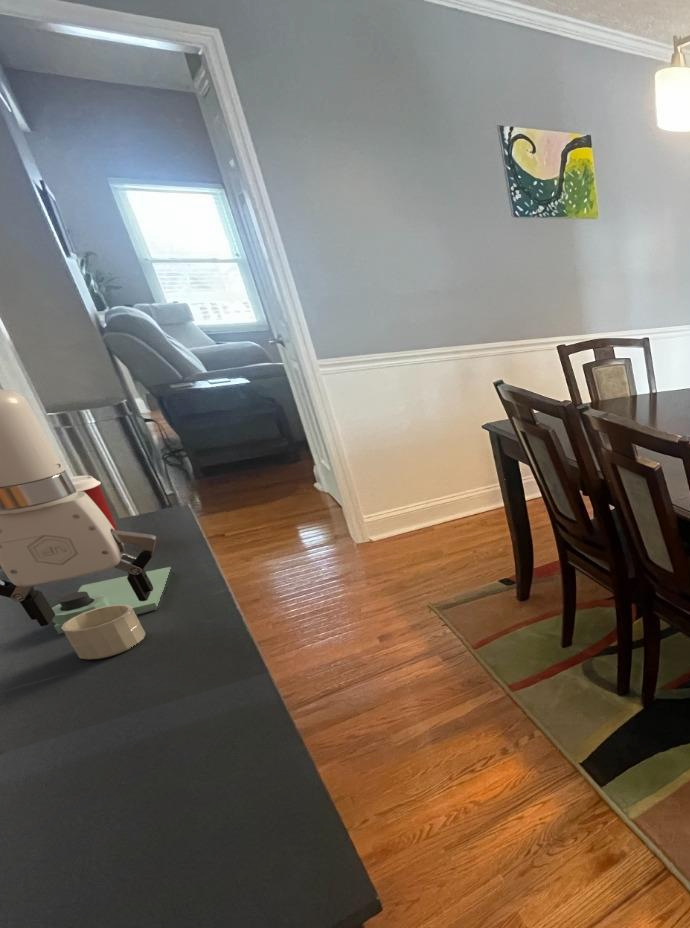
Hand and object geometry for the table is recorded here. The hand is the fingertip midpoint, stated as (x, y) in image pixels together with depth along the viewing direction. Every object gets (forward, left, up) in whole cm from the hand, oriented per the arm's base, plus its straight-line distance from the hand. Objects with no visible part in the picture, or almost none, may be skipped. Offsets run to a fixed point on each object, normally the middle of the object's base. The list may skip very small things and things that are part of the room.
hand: (98, 608), depth 81 cm
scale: (-3, +17, -6) cm, 18 cm away
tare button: (-6, +12, -4) cm, 14 cm away
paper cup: (-10, +45, -6) cm, 47 cm away
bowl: (-1, 0, -6) cm, 6 cm away
